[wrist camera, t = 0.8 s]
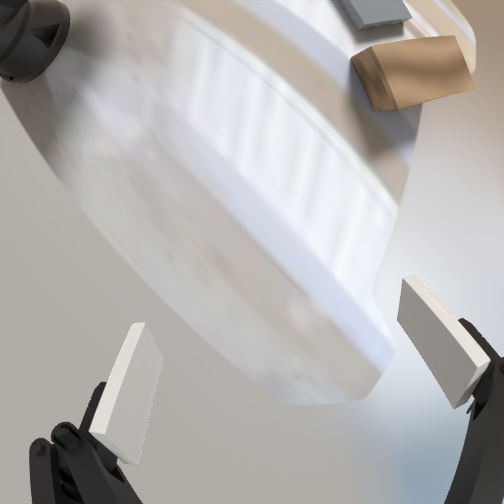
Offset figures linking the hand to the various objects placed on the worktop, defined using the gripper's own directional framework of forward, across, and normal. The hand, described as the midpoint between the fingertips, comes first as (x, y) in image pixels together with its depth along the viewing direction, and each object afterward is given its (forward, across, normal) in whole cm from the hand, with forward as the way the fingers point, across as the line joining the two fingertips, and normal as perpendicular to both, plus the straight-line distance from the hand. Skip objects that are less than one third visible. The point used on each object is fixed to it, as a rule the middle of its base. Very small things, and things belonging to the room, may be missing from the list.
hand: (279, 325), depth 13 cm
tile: (+26, +21, +30) cm, 45 cm away
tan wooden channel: (+26, +25, +16) cm, 39 cm away
